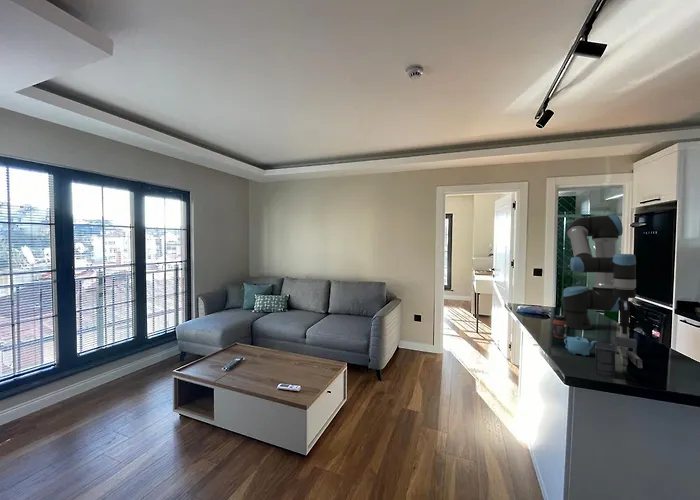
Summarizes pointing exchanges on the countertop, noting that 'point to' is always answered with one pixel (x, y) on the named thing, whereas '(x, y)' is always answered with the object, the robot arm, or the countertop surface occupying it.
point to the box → (605, 359)
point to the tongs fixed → (623, 355)
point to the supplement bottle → (560, 327)
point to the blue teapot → (578, 345)
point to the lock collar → (625, 343)
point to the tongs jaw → (635, 359)
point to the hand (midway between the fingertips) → (624, 340)
